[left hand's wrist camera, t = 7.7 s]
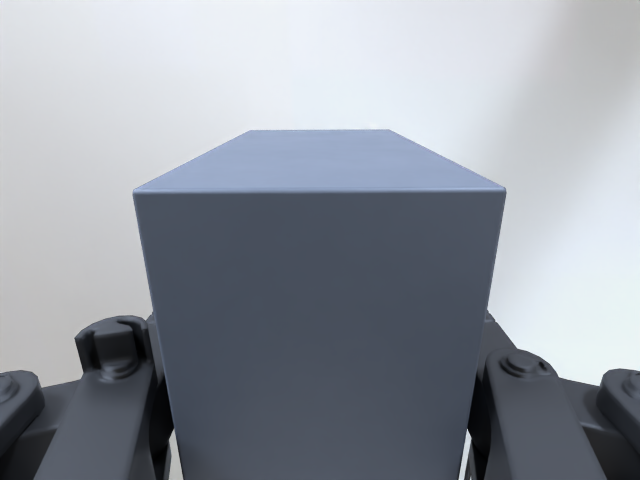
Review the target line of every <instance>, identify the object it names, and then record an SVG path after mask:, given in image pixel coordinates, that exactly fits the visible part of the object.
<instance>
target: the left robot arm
mask: <svg viewBox="0 0 640 480" xmlns="http://www.w3.org/2000/svg"><path fill="white" fill-rule="evenodd" d="M75 342H76V346H77V350H78V353H79V357H80V361H81V365H82V369H83V372H84V373H83V376H82V378H81V379H80V380H76V381H73V382H68V383H63V384H58V385H54V386H49V387H44V388H41V386H40V383H39V379H38V377H37V376H36V375H35V374H34V373H33V372H29V371H23V370H19V371H10V372H4V373H0V480H169V472H170V464H171V450H170V444H169V438H170V436H171V434H172V431H173V429H174V424H173V418H172V412H171V407H170V401H169V396H168V390H167V384H166V379H165V373H164V368H163V362H162V356H161V351H160V345H159V340H158V334H157V328H156V323H155V317H154V312H152V315H150V316H149V317H148V319H147V320H146V321H145V320H144V319H143V318H141V317H137V316H132V315H130V316H116V317H111V318H106V319H104V320H101V321H98V322H96V323H93V324H91V325H90V326H88V327H86V328H85V329H83V330H81V332H80V333H79V334H78V335H77V336H76V337H75ZM467 429H468V431H469V433H470V436H471V444H470V449H469V455H468V460H467V466H466V471H465V478H464V480H470V477H471V479H472V480H640V371H636V370H628V369H613V370H609V371H607V372H606V373H605V374H604V375H603V377H602V381H601V384H600V386H595V385H590V384H585V383H581V382H576V381H571V380H567V379H563V378H559V377H558V375H557V373H556V371H555V370H554V369H553V368H552V366H551V365H550V364H549V363H548V362H546V361H545V360H543V359H542V358H541V357H539V356H537V355H534V354H532V353H530V352H528V351H524V350H520V349H517V348H516V346H515V345H514V344H513V343H512V341H511V340H510V339H509V337H508V336H507V335H506V334H505V332H504V331H503V330H502V328H501V327H500V326H499V324H498V323H497V322H495V319H494V318H493V317H492V315H491V314H489V313H488V310H487V312H486V318H485V324H484V330H483V336H482V342H481V348H480V354H479V360H478V366H477V372H476V378H475V383H474V389H473V395H472V401H471V407H470V413H469V419H468V425H467Z"/></svg>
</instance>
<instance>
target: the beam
mask: <svg viewBox="0 0 640 480" xmlns="http://www.w3.org/2000/svg"><path fill="white" fill-rule="evenodd" d="M505 198H506V188H505V187H503V186H501V185H499V184H497V183H495V182H493V181H491V180H489V179H487V178H485V177H483V176H481V175H479V174H477V173H475V172H473V171H471V170H469V169H467V168H465V167H463V166H461V165H459V164H457V163H455V162H453V161H451V160H449V159H447V158H445V157H443V156H441V155H439V154H437V153H435V152H433V151H431V150H429V149H427V148H425V147H423V146H421V145H419V144H417V143H415V142H413V141H411V140H409V139H407V138H405V137H403V136H401V135H399V134H397V133H395V132H393V131H391V130H250V131H248V132H246V133H244V134H242V135H240V136H238V137H236V138H234V139H232V140H230V141H228V142H226V143H224V144H222V145H220V146H218V147H216V148H215V149H213V150H211V151H209V152H207V153H205V154H203V155H201V156H199V157H197V158H195V159H193V160H191V161H189V162H187V163H185V164H183V165H181V166H179V167H177V168H175V169H173V170H171V171H169V172H167V173H165V174H164V175H162V176H160V177H158V178H156V179H154V180H152V181H150V182H148V183H146V184H144V185H142V186H140V187H138V188H136V189H134V190H133V200H134V205H135V211H136V216H137V222H138V228H139V233H140V239H141V244H142V250H143V256H144V261H145V267H146V272H147V278H148V284H149V289H150V295H151V300H152V306H153V312H154V317H155V323H156V328H157V334H158V340H159V345H160V351H161V356H162V362H163V368H164V373H165V379H166V384H167V390H168V396H169V401H170V407H171V412H172V418H173V424H174V429H175V435H176V440H177V446H178V452H179V457H180V463H181V468H182V474H183V480H458V479H459V473H460V467H461V461H462V455H463V449H464V443H465V437H466V431H467V425H468V419H469V413H470V407H471V401H472V395H473V389H474V383H475V378H476V372H477V366H478V360H479V354H480V348H481V342H482V336H483V330H484V324H485V318H486V312H487V306H488V300H489V294H490V288H491V282H492V276H493V270H494V264H495V258H496V252H497V246H498V240H499V234H500V228H501V222H502V216H503V210H504V204H505Z"/></svg>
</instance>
